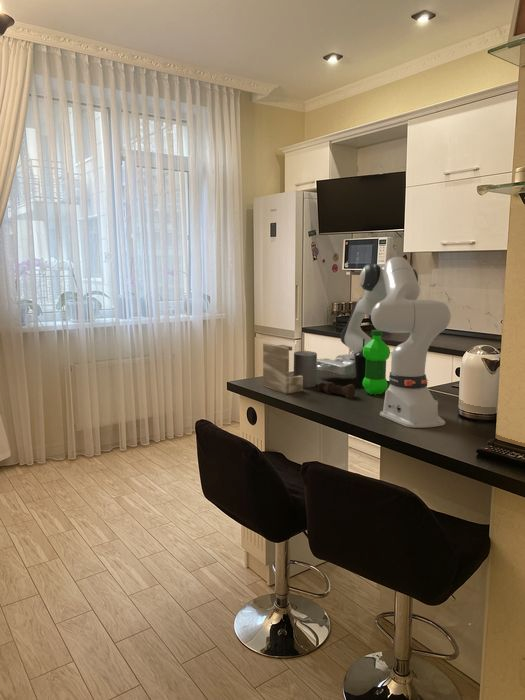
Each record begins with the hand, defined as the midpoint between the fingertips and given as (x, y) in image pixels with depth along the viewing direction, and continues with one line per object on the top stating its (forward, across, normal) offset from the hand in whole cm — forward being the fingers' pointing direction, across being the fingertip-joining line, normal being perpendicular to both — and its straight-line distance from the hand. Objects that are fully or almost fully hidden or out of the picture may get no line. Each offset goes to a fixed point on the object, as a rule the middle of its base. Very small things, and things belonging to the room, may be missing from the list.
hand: (319, 368), depth 228 cm
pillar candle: (+7, 0, +7) cm, 10 cm away
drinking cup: (-11, +15, +7) cm, 20 cm away
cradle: (+19, 0, +6) cm, 20 cm away
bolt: (+7, +19, +7) cm, 21 cm away
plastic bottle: (-7, +26, +7) cm, 28 cm away
